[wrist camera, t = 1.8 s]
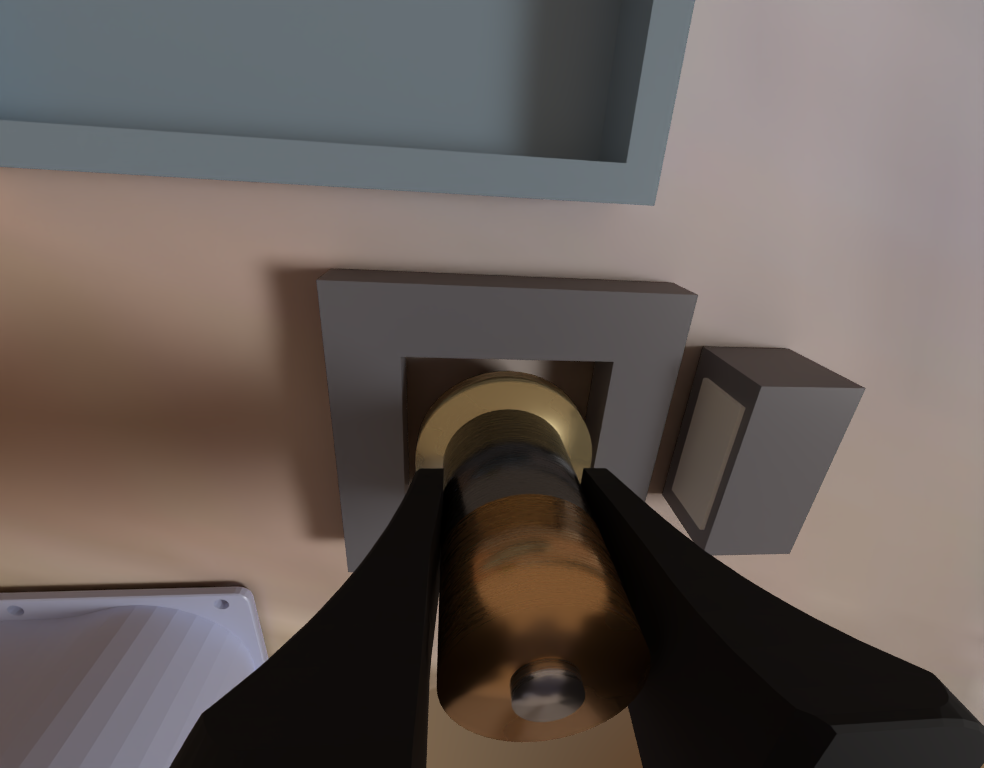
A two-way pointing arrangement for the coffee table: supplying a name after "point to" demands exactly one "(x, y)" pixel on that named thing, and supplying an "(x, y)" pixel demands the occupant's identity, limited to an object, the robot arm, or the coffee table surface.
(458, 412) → the disc
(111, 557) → the coffee table surface
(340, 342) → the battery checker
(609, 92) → the slate trough
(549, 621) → the battery cell
